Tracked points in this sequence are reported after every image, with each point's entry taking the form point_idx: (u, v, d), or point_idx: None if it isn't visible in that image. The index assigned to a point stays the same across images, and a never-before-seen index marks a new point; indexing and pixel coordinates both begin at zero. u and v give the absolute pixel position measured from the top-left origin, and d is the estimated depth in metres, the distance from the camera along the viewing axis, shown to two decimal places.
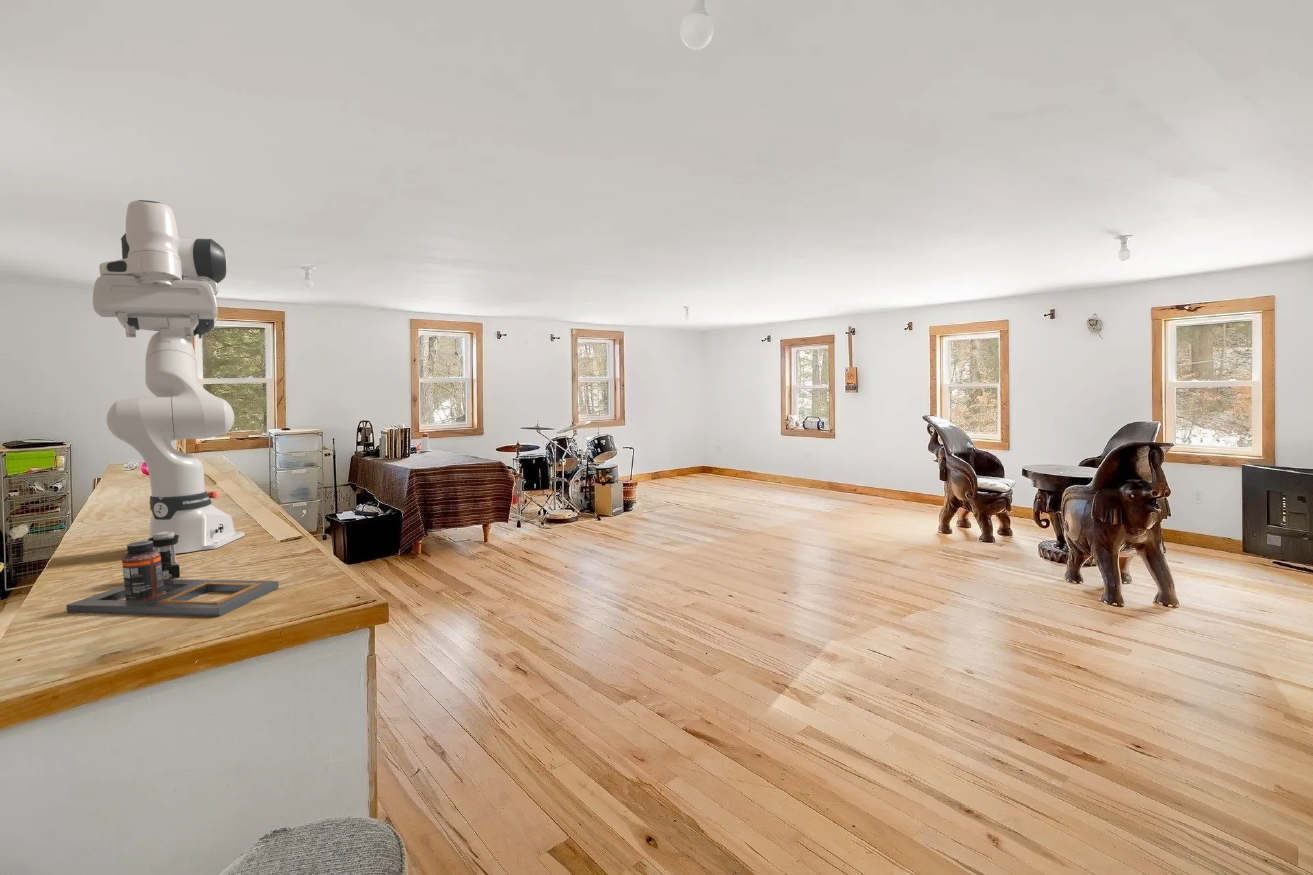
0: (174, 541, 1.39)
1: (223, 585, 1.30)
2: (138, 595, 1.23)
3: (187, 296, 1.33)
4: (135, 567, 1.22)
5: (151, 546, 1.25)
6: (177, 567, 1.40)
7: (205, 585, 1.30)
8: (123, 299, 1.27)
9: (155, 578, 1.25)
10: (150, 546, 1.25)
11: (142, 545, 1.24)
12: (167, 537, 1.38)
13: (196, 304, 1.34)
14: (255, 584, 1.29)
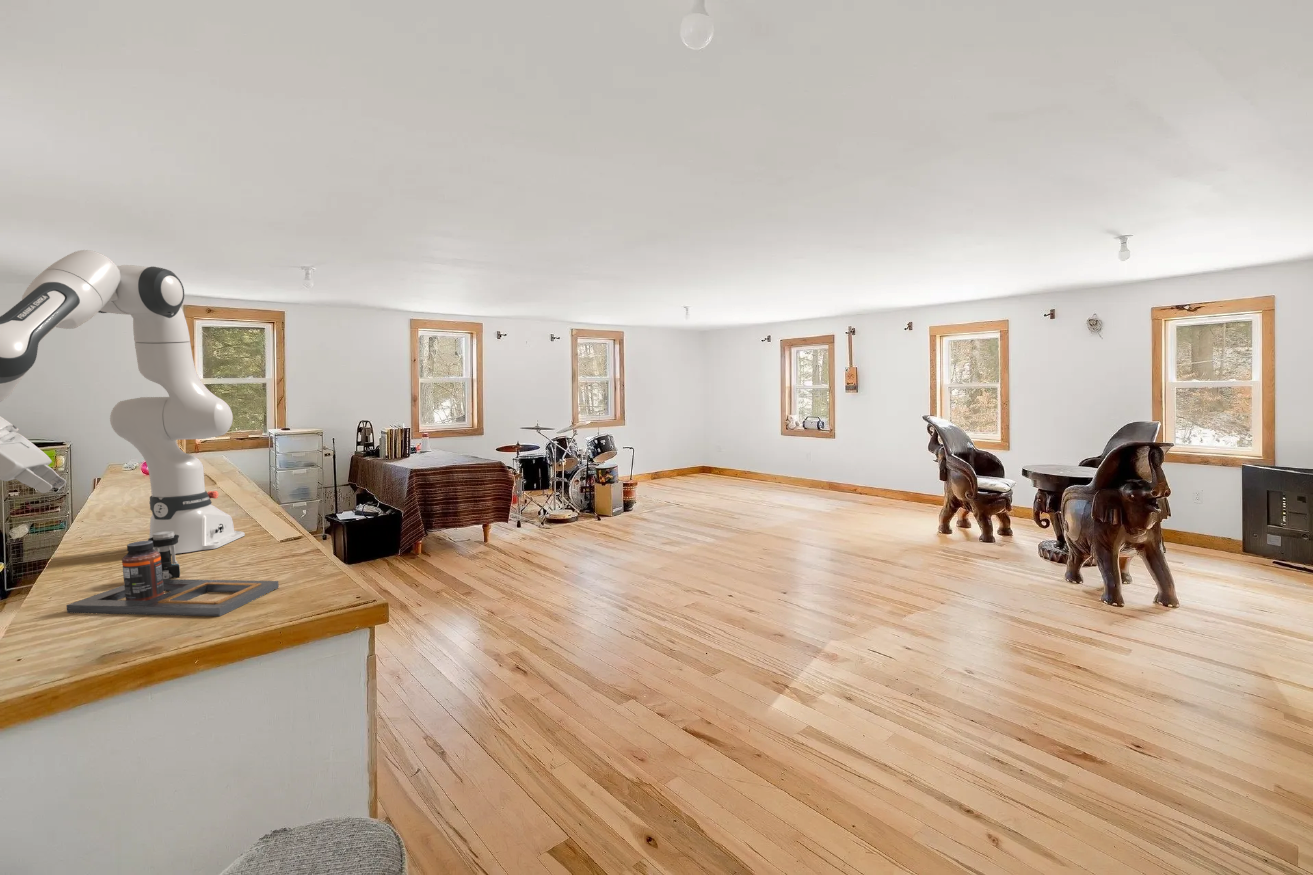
0: (174, 541, 1.39)
1: (223, 585, 1.30)
2: (138, 595, 1.23)
3: None
4: (135, 567, 1.22)
5: (151, 546, 1.25)
6: (177, 567, 1.40)
7: (205, 585, 1.30)
8: None
9: (155, 578, 1.25)
10: (150, 546, 1.25)
11: (142, 545, 1.24)
12: (167, 537, 1.38)
13: None
14: (255, 584, 1.29)
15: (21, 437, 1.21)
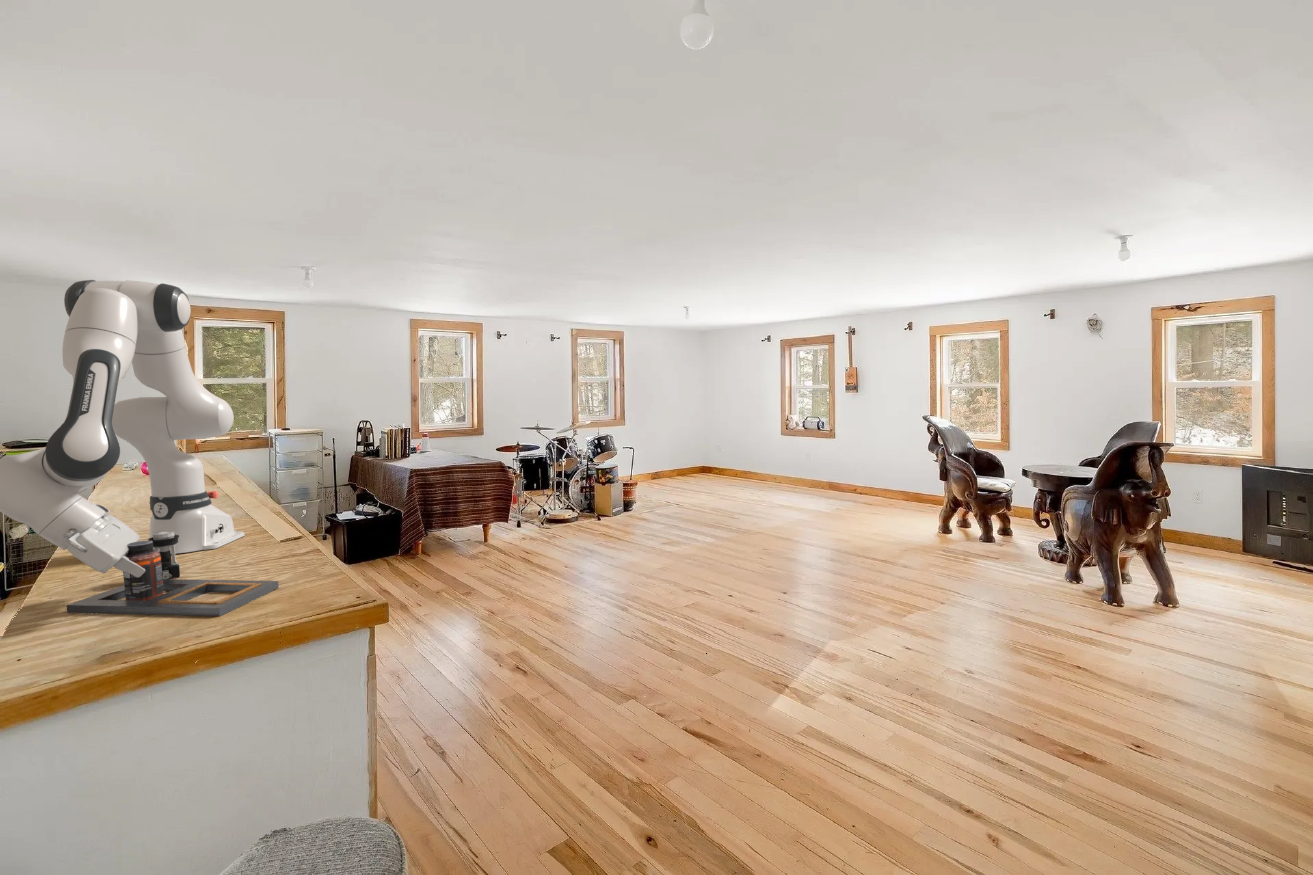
0: (174, 541, 1.39)
1: (223, 585, 1.30)
2: (138, 595, 1.23)
3: None
4: None
5: (151, 546, 1.25)
6: (177, 567, 1.40)
7: (205, 585, 1.30)
8: None
9: (155, 578, 1.25)
10: (150, 546, 1.25)
11: (142, 545, 1.24)
12: (167, 537, 1.38)
13: None
14: (255, 584, 1.29)
15: (112, 518, 1.28)
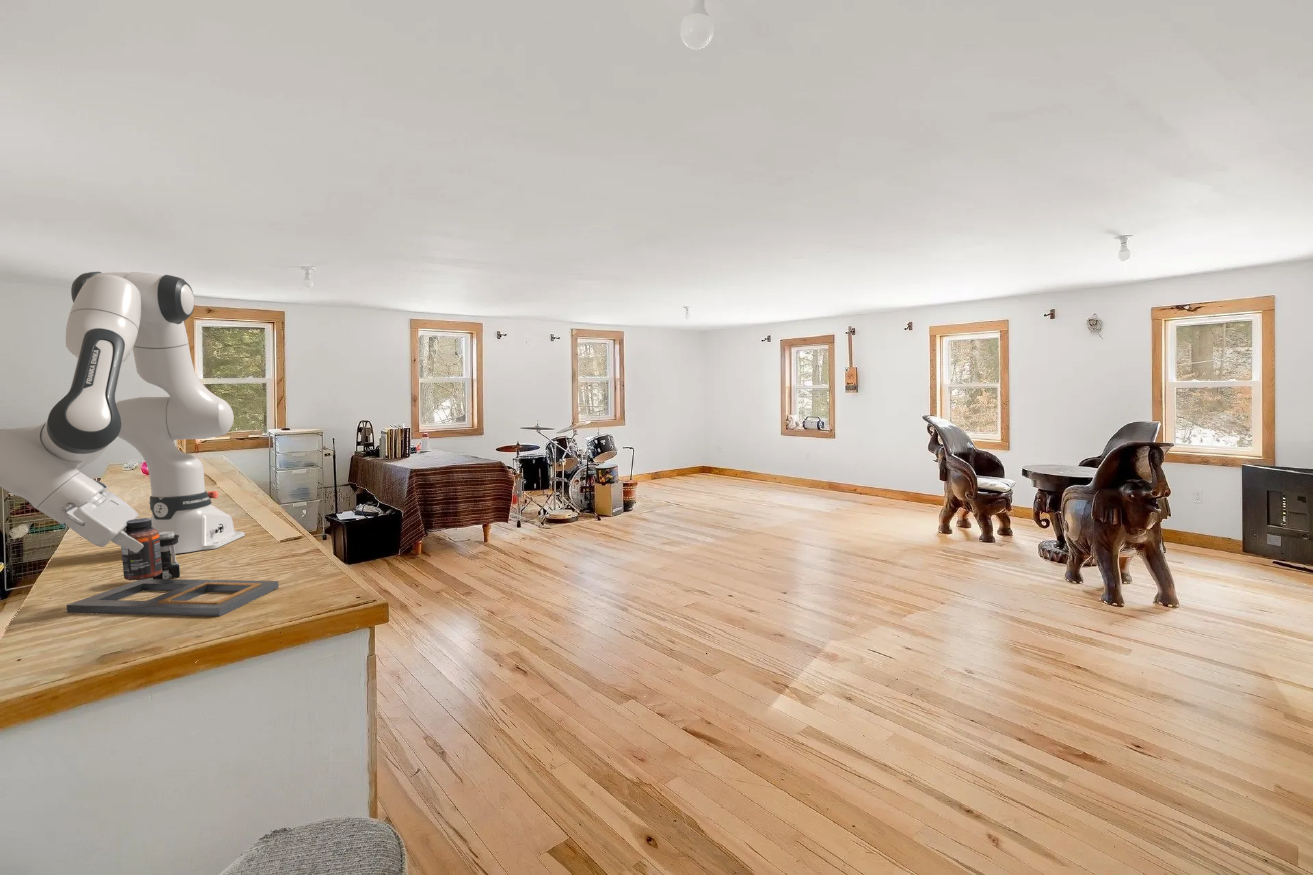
0: (174, 541, 1.39)
1: (223, 585, 1.30)
2: (136, 572, 1.23)
3: None
4: None
5: (149, 523, 1.25)
6: (177, 567, 1.40)
7: (205, 585, 1.30)
8: None
9: (153, 555, 1.25)
10: (148, 523, 1.25)
11: (140, 522, 1.23)
12: (167, 537, 1.38)
13: None
14: (255, 584, 1.29)
15: (111, 495, 1.28)
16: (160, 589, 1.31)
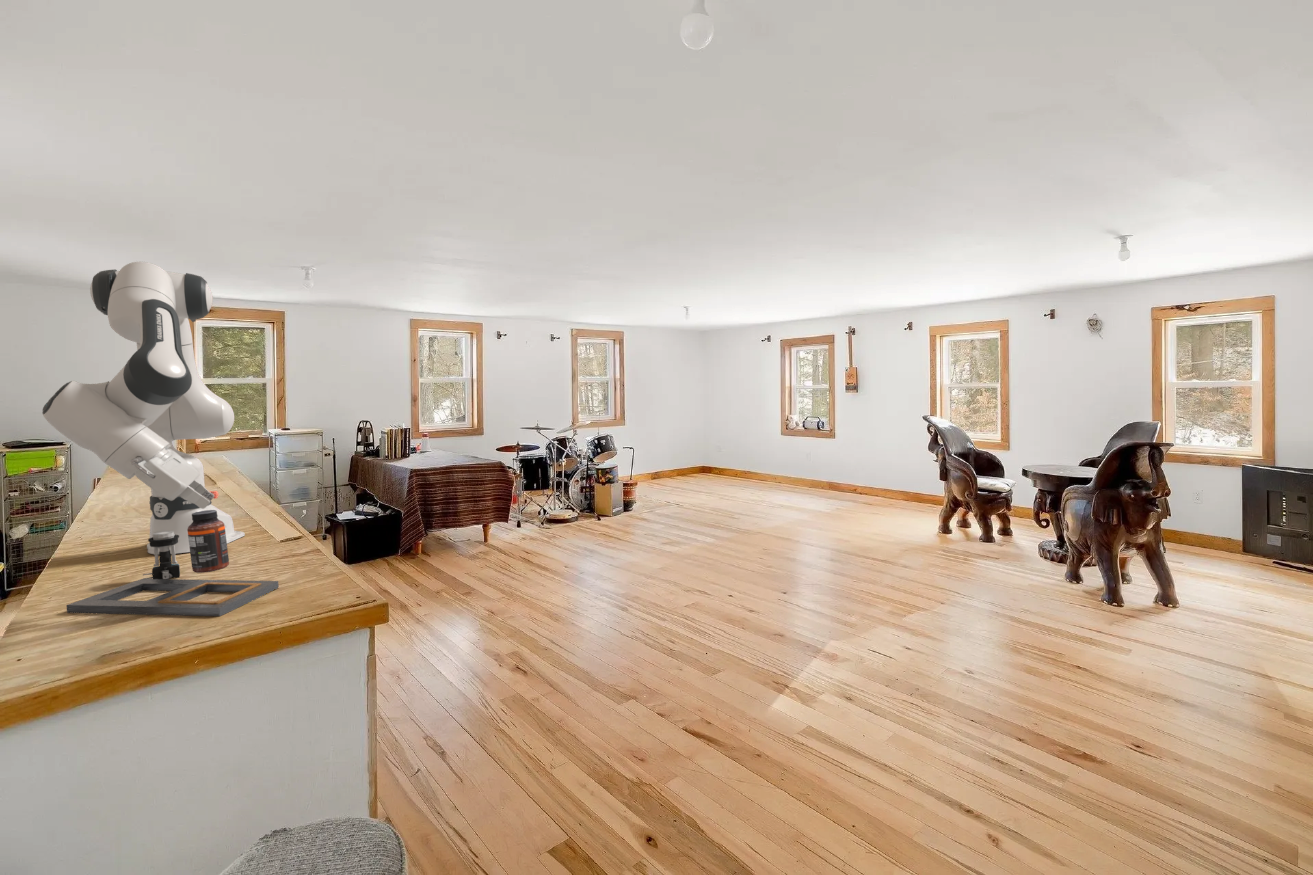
0: (174, 541, 1.39)
1: (223, 585, 1.30)
2: (204, 564, 1.21)
3: None
4: (201, 536, 1.21)
5: (215, 515, 1.23)
6: (177, 567, 1.40)
7: (205, 585, 1.30)
8: None
9: (220, 547, 1.23)
10: (214, 515, 1.23)
11: (206, 513, 1.22)
12: (167, 537, 1.38)
13: None
14: (255, 584, 1.29)
15: (173, 453, 1.26)
16: (160, 589, 1.31)
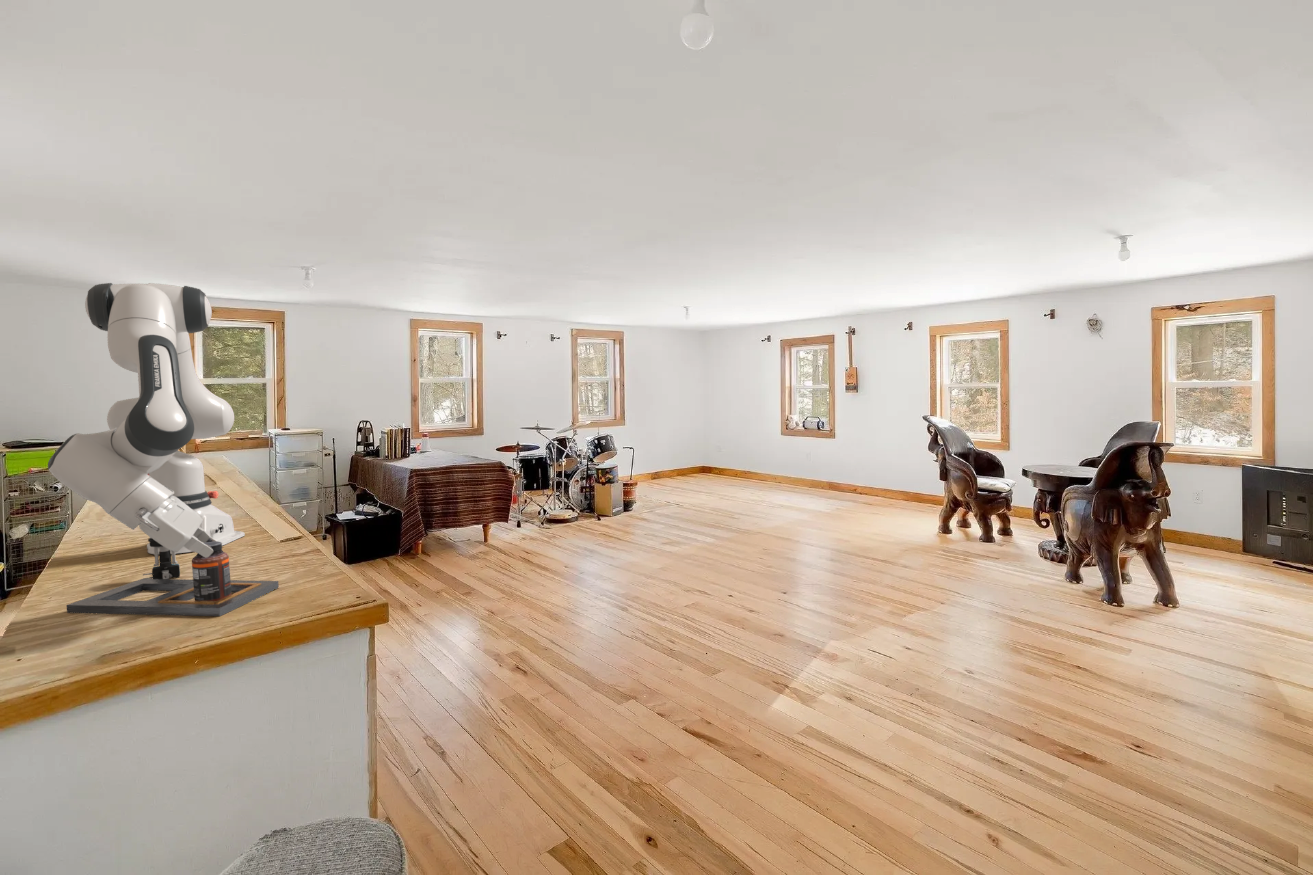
0: None
1: None
2: (206, 596, 1.22)
3: None
4: (204, 569, 1.21)
5: (220, 547, 1.24)
6: (177, 567, 1.40)
7: None
8: None
9: (223, 580, 1.23)
10: (219, 547, 1.23)
11: (211, 546, 1.22)
12: None
13: None
14: (255, 584, 1.29)
15: (177, 500, 1.27)
16: (160, 589, 1.31)
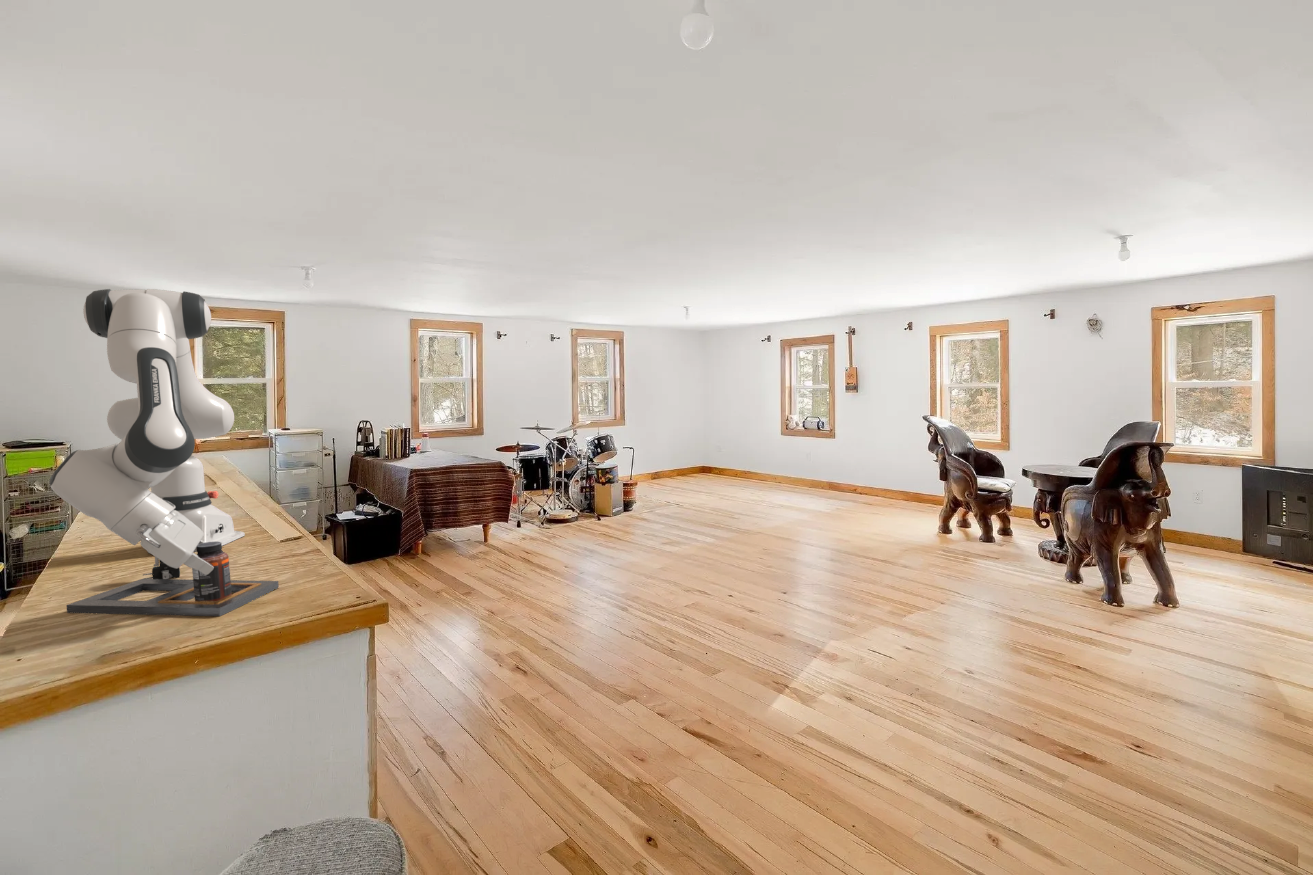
0: None
1: None
2: (206, 596, 1.22)
3: None
4: None
5: (219, 547, 1.24)
6: None
7: None
8: None
9: (223, 580, 1.23)
10: (218, 547, 1.24)
11: (211, 546, 1.22)
12: None
13: None
14: (255, 584, 1.29)
15: (178, 514, 1.27)
16: (160, 589, 1.31)
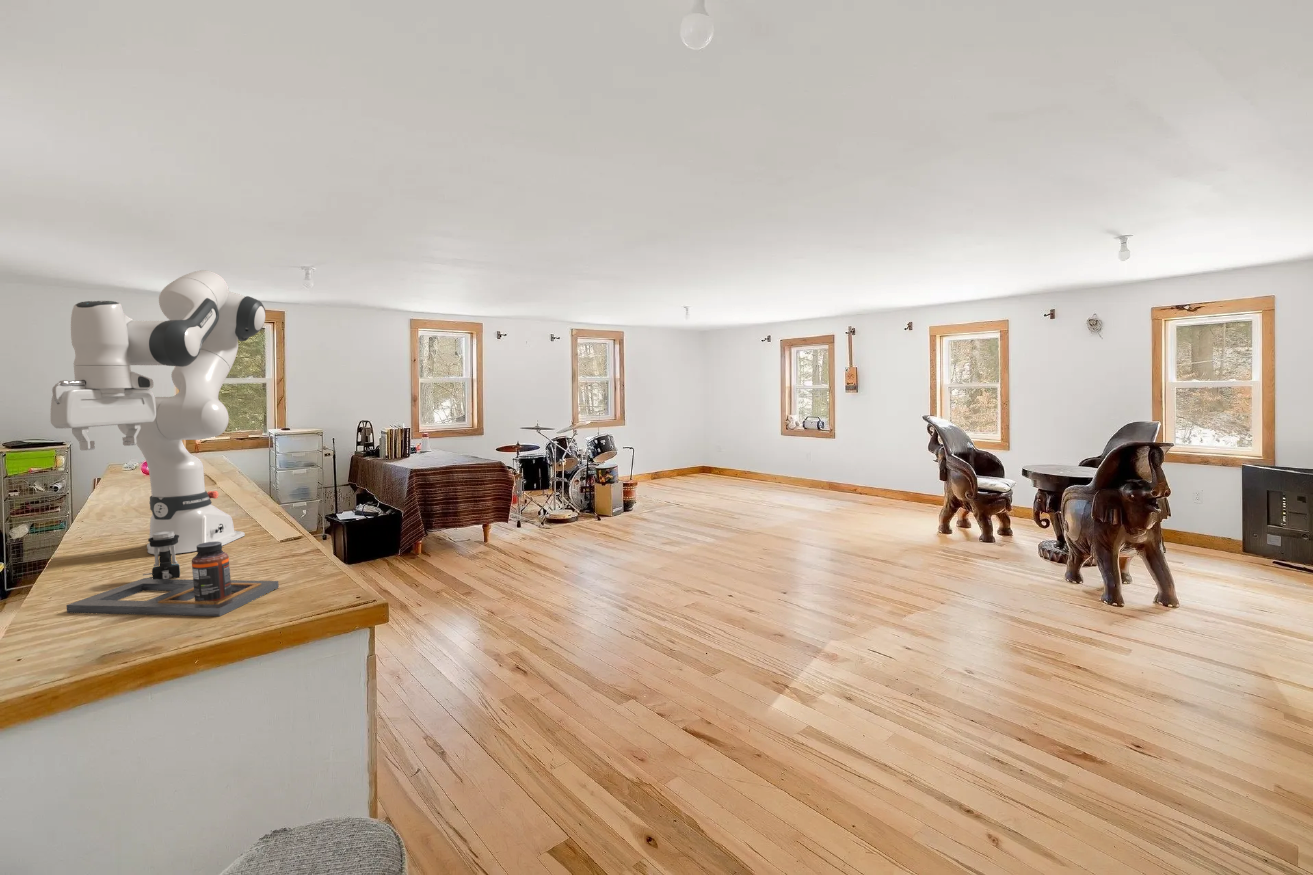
0: (174, 541, 1.39)
1: None
2: (206, 596, 1.22)
3: None
4: (204, 568, 1.21)
5: (219, 547, 1.24)
6: (177, 567, 1.40)
7: None
8: None
9: (223, 580, 1.23)
10: (218, 547, 1.24)
11: (211, 546, 1.22)
12: (167, 537, 1.38)
13: None
14: (255, 584, 1.29)
15: (146, 394, 1.39)
16: (160, 589, 1.31)
